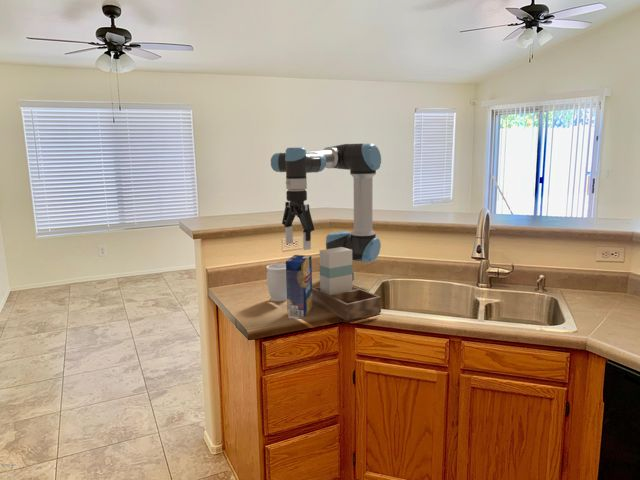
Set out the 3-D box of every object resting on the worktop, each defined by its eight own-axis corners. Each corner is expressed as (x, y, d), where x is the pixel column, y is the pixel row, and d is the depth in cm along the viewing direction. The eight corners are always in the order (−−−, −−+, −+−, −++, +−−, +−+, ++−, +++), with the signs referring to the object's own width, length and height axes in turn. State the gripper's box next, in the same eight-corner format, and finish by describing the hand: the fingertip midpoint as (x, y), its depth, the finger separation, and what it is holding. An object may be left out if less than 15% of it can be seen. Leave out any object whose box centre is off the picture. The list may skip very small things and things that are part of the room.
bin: (343, 297, 199) (343, 281, 197) (380, 314, 178) (381, 296, 176) (311, 304, 190) (311, 288, 189) (346, 323, 169) (346, 304, 168)
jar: (288, 305, 190) (287, 269, 188) (264, 303, 192) (262, 268, 190) (294, 297, 201) (293, 263, 198) (272, 296, 203) (270, 262, 200)
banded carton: (342, 298, 195) (342, 246, 190) (352, 302, 189) (352, 249, 185) (320, 303, 189) (319, 250, 185) (329, 307, 183) (329, 253, 179)
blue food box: (312, 309, 185) (311, 255, 180) (304, 319, 174) (303, 262, 170) (296, 308, 186) (294, 254, 182) (287, 317, 176) (285, 261, 172)
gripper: (272, 188, 180) (274, 242, 184) (304, 192, 159) (306, 253, 163) (289, 187, 183) (290, 240, 187) (323, 191, 163) (324, 250, 167)
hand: (297, 246), depth 175 cm, fingers open, 13 cm apart
